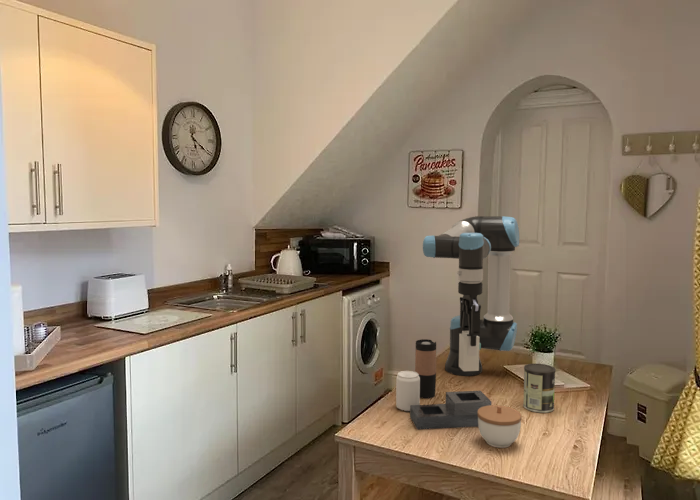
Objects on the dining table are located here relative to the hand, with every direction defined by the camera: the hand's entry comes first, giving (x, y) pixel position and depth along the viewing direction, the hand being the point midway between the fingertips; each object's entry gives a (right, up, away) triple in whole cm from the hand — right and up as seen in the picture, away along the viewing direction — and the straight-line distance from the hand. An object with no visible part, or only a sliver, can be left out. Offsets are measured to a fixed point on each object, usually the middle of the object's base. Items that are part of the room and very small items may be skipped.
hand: (468, 352), depth 178 cm
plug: (0, -5, +1) cm, 5 cm away
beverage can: (-18, -22, +13) cm, 31 cm away
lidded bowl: (+6, -24, -14) cm, 29 cm away
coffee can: (+27, -22, +13) cm, 37 cm away
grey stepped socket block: (-6, -23, +2) cm, 23 cm away
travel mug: (-11, -20, +25) cm, 34 cm away
